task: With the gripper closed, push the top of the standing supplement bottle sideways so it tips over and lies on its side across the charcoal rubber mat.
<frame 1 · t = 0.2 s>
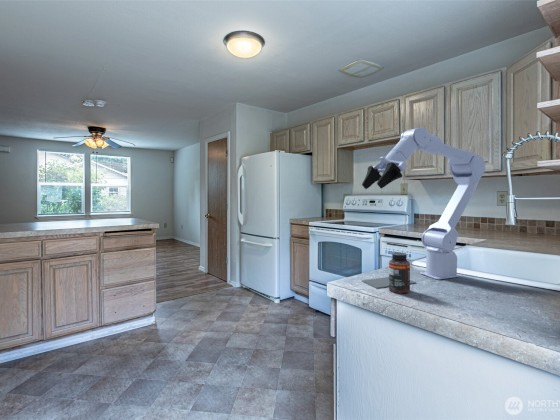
hand: (371, 186, 96), 31 cm above the countertop, fingers open, 7 cm apart
supplement bottle: (399, 291, 93), on the countertop
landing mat: (388, 282, 102), on the countertop
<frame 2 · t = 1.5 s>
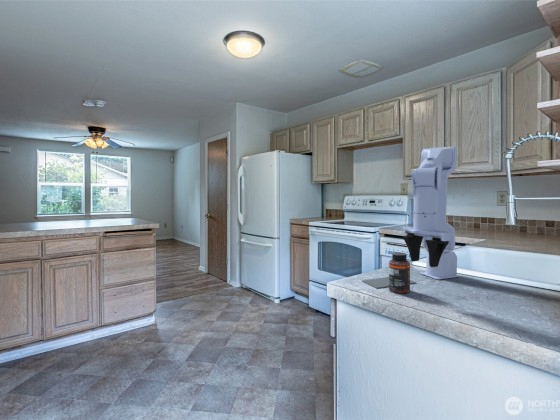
hand: (424, 263, 84), 10 cm above the countertop, fingers open, 6 cm apart
nothing on the countertop moved.
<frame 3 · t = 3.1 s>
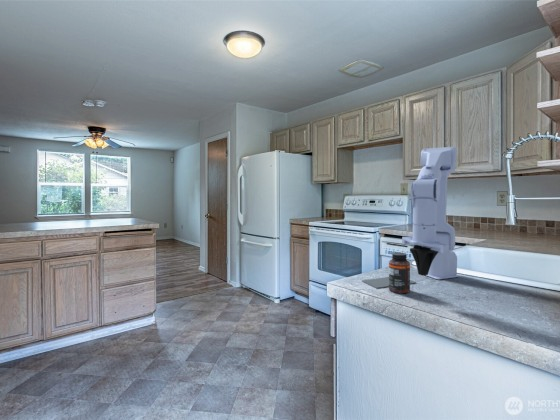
hand: (423, 274, 84), 7 cm above the countertop, fingers closed
nothing on the countertop moved.
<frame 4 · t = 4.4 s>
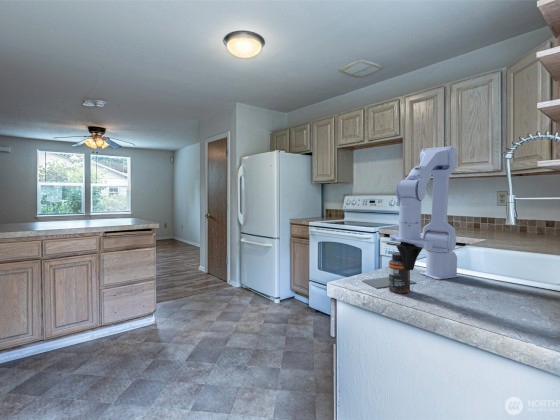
hand: (408, 269, 89), 7 cm above the countertop, fingers closed
supplement bottle: (399, 291, 93), on the countertop, touching gripper
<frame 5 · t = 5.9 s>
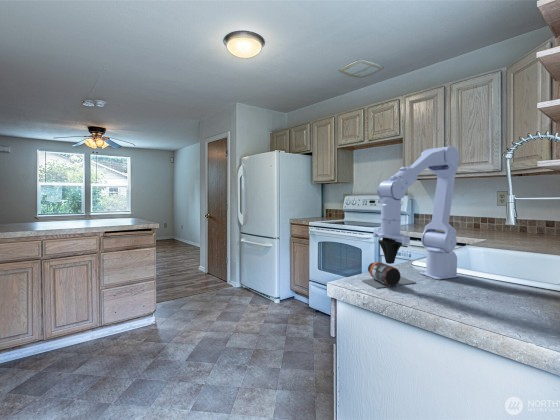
hand: (390, 263, 97), 7 cm above the countertop, fingers closed
supplement bottle: (393, 277, 96), point 3 cm above the countertop, touching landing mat
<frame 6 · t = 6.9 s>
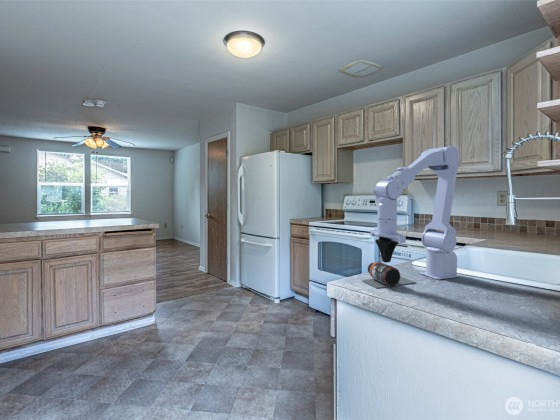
hand: (386, 261, 99), 7 cm above the countertop, fingers closed
nothing on the countertop moved.
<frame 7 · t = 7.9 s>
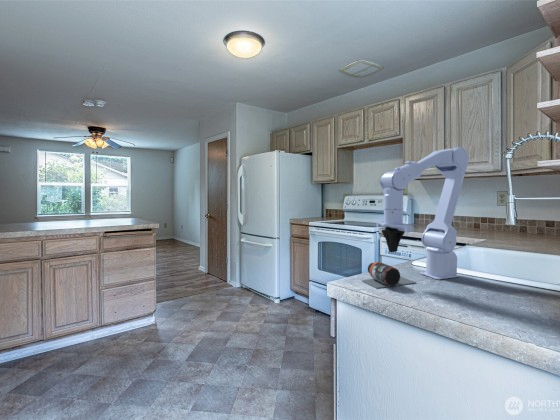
hand: (392, 251, 100), 10 cm above the countertop, fingers closed
nothing on the countertop moved.
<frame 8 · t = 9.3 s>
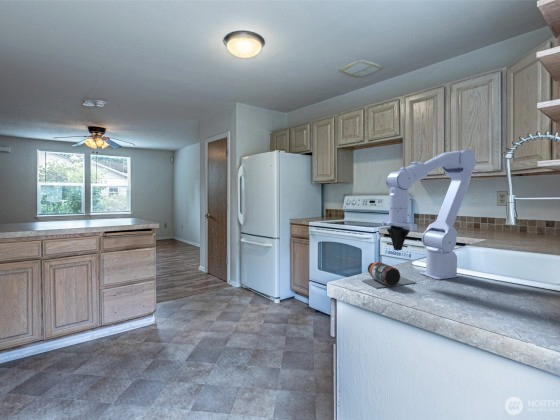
hand: (397, 249, 102), 10 cm above the countertop, fingers closed
nothing on the countertop moved.
at the end: supplement bottle tilted 90°; supplement bottle inside the target area (2.4 cm from its centre), point 3.3 cm above the countertop; supplement bottle touching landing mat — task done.
